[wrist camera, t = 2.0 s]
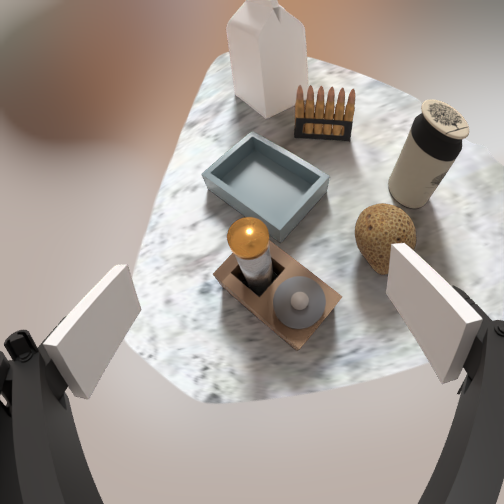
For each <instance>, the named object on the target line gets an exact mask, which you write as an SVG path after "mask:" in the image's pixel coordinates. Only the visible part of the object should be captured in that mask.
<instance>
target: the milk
mask: <svg viewBox="0 0 504 504" xmlns="http://www.w3.org/2000/svg"><path fill="white" fill-rule="evenodd" d="M226 30H227V37H228V45H229V53H230V61H231V68H232V76H233V84H234V91H235V95H236V96H237V97H239V98H240V99H241V100H243V101H244V102H245V103H247V104H248V105H249V106H250V107H252V108H253V109H254V110H256V111H257V112H258V113H259V114H261V115H262V116H263V117H264V118H266V119H268V118H270V117H272V116H274V115H276V114H278V113H280V112H282V111H284V110H286V109H288V108H290V107H293V106H295V103H296V94H297V89H298V86H299V85H301V87H302V89H303V98H304V101H306V99H307V92H308V67H307V53H306V52H307V50H306V36H305V28H304V26H303V24H302V23H301V22H300V21H299V20H298V19H297V18H295V17H294V16H292V15H291V14H289V13H288V12H287V11H285V9H284V8H283V7H282V6H280V5H279V4H278V1H277V0H246V1H245V2H244V3H243V5H242V6H241V7H240V8H239V9H238V10H237V12H236V13H235V14H234V15H233V16H232V18H231V19H230V20H229V22H228V24H227V28H226Z"/></svg>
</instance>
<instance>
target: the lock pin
mask: <svg viewBox="0 0 504 504" xmlns="http://www.w3.org/2000/svg"><path fill="white" fill-rule="evenodd" d="M227 241H228V244H229V246H230V248H231V250H232V252H233V253H234V255H235V257H236V259H237V261H238V264H239V266H240V268H241V270H242V272H243V275H244V277H245V279H246V281H247V283H248V286H249V288H250V290H251V291H252V292H254V293H255V294H256V295H257V296H261V295H262V294H263V293H264V292H265V291H266V290H267V289H268V287H269V286H270V285H271V284H272V283H273V282H274V277H273V269H272V262H271V254H270V247H269V242H270V241H269V232H268V229H267V226H266V225H265V224H264V223H263V222H262V221H261V220H259V219H257V218H253V217H245V218H241V219H239V220H237V221H236V222H234V223H233V224H232V225H231V227H230V228H229V230H228V234H227Z"/></svg>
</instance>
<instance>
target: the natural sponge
mask: <svg viewBox="0 0 504 504" xmlns="http://www.w3.org/2000/svg"><path fill="white" fill-rule="evenodd" d="M355 238H356V243H357V246H358V248H359V250H360V252H361V253H362V255H363V256H364V257H365V259H366V260H367V261H368V263H369V264H370V265H371V267H372V268H373V269H374V270H375V271H376V272H377V273H379V274H381V275H385V274H388V272H389V263H390V253H391V244H398V243H405V244H406V245H407V246H409V247H410V248H411V249H412V250H414V248H415V245H416V231H415V227H414V224H413V222H412V220H411V218H410V217H409V216H408V215H407V214H406V213H405V212H404V211H403V210H402V209H400V208H399V207H396V206H394V205H390V204H384V203H382V204H376V205H373V206H370V207H368V208H366V209H365V210H364V211H362V213H361V214H360V216H359V217H358V220H357V222H356V226H355Z"/></svg>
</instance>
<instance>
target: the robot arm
mask: <svg viewBox="0 0 504 504" xmlns="http://www.w3.org/2000/svg"><path fill="white" fill-rule="evenodd" d="M386 294H387V296H388V297H389V299H390V300H391V302H392V303H393V305H394V306H395V308H396V309H397V311H398V312H399V314H400V315H401V317H402V318H403V320H404V321H405V323H406V325H407V326H408V328H409V329H410V331H411V333H412V334H413V336H414V337H415V339H416V341H417V342H418V344H419V346H420V347H421V349H422V351H423V352H424V354H425V356H426V357H427V359H428V361H429V362H430V364H431V366H432V367H433V369H434V371H435V373H436V375H437V376H438V378H439V380H440V382H441V383H442V384H444V383H447V382H450V381H453V380H456V379H458V377H459V375H460V373H461V371H462V368H463V367H464V369H465V371H466V372H467V376H466V378H465V380H464V382H463V384H462V385H461V388H460V389H459V391H458V393H457V394H460V392H461V395H460V399H459V403H458V406H457V409H456V413H455V417H454V419H453V422H452V426H451V429H450V431H449V434H448V437H447V440H446V443H445V446H444V448H443V450H442V453H441V456H440V458H439V460H438V463H437V465H436V467H435V470H434V472H433V474H432V477H431V479H430V481H429V483H428V485H427V487H426V489H425V491H424V493H423V495H422V497H421V499H420V500H419V502H418V504H496V502H497V499H498V496H499V492H500V489H501V486H502V482H503V479H504V321H501V320H495V321H492V320H491V319H490V318H489V317H488V316H487V315H486V314H485V313H484V311H483V310H482V309H481V308H480V307H479V306H478V305H477V304H475V302H474V301H473V300H472V299H470V297H469V296H468V295H467V294H466V293H465V292H464V291H463V290H461V289H459V288H457V287H455V286H451V285H450V284H449V283H448V282H447V281H445V280H444V279H443V278H442V277H441V276H440V275H439V274H438V273H437V272H436V271H435V270H434V269H433V268H432V267H431V266H430V265H429V264H427V263H426V262H425V261H424V260H423V259H422V258H421V257H420V256H419V255H418V254H416V253H415V252H414V251H413V250H412V249H411V248H410V247H409V246H407V245H406V244H405V243H398V244H391V253H390V263H389V272H388V281H387V288H386ZM140 311H141V307H140V304H139V301H138V297H137V294H136V291H135V288H134V284H133V281H132V278H131V274H130V271H129V267H128V264H124V265H115V266H114V267H113V268H112V269H111V270H110V271H109V272H108V273H107V274H106V275H105V276H104V277H103V278H102V279H101V280H100V281H99V282H98V283H97V284H96V285H95V286H94V287H93V289H92V290H91V291H90V292H89V293H88V294H87V295H86V296H85V297H84V298H83V299H82V300H81V301H80V302H79V303H78V305H76V307H75V308H74V309H73V310H72V311H71V312H70V313H69V314H68V315H67V316H66V317H64V318H63V319H62V321H60V323H59V324H58V326H56V327H55V328H54V329H53V331H52V332H51V333H50V334H49V335H48V336H47V338H46V339H45V340H44V341H43V342H42V343H41V345H40V346H39V347H38V348H37V346H36V344H35V342H34V341H33V339H32V337H31V335H30V333H29V331H27V330H20V331H17V332H15V333H13V334H11V335H10V336H9V337H8V338H7V339H6V340H5V343H4V346H5V348H6V349H7V351H8V353H9V354H10V356H11V358H12V360H9V361H8V360H7V358H6V357H5V355H4V353H3V352H1V351H0V394H2V396H3V397H4V398H5V399H6V401H7V405H6V406H5V405H4V404H3V403H2V402H1V400H0V504H104V503H103V501H102V499H101V497H100V495H99V493H98V490H97V488H96V485H95V483H94V480H93V478H92V475H91V473H90V470H89V467H88V465H87V462H86V459H85V456H84V453H83V450H82V447H81V444H80V441H79V437H78V434H77V430H76V427H75V423H74V419H73V415H72V412H71V407H70V403H69V398H68V396H67V395H66V393H65V390H66V389H67V387H69V388H70V390H71V391H72V393H73V394H74V396H76V397H80V398H84V399H89V398H90V396H91V395H92V393H93V391H94V389H95V387H96V385H97V384H98V382H99V380H100V378H101V376H102V374H103V373H104V371H105V369H106V368H107V366H108V364H109V363H110V360H111V359H112V357H113V356H114V354H115V352H116V350H117V349H118V347H119V345H120V343H121V342H122V340H123V339H124V337H125V335H126V334H127V332H128V331H129V329H130V327H131V326H132V324H133V322H134V321H135V319H136V318H137V316H138V314H139V313H140Z"/></svg>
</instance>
